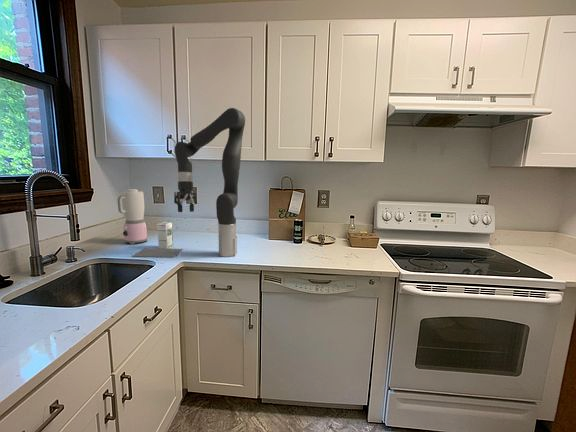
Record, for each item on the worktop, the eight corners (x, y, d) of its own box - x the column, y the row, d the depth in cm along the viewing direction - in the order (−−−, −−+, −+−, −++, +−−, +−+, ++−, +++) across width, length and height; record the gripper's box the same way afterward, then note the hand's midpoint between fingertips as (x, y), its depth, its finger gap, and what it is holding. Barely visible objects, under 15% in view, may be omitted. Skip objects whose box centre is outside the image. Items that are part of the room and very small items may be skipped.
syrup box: (167, 249, 161) (166, 224, 159) (158, 248, 162) (156, 223, 160) (173, 246, 167) (172, 222, 164) (164, 246, 168) (163, 221, 165)
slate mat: (182, 249, 161) (182, 248, 161) (173, 257, 148) (173, 256, 147) (144, 249, 161) (144, 248, 161) (131, 256, 147) (131, 255, 147)
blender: (139, 238, 183) (135, 188, 178) (152, 241, 177) (149, 189, 172) (114, 244, 169) (110, 189, 164) (127, 247, 164) (123, 191, 158)
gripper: (181, 179, 143) (182, 212, 144) (200, 181, 156) (200, 211, 157) (169, 180, 146) (170, 212, 146) (189, 182, 159) (189, 211, 160)
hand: (186, 211), depth 152 cm, fingers open, 8 cm apart
